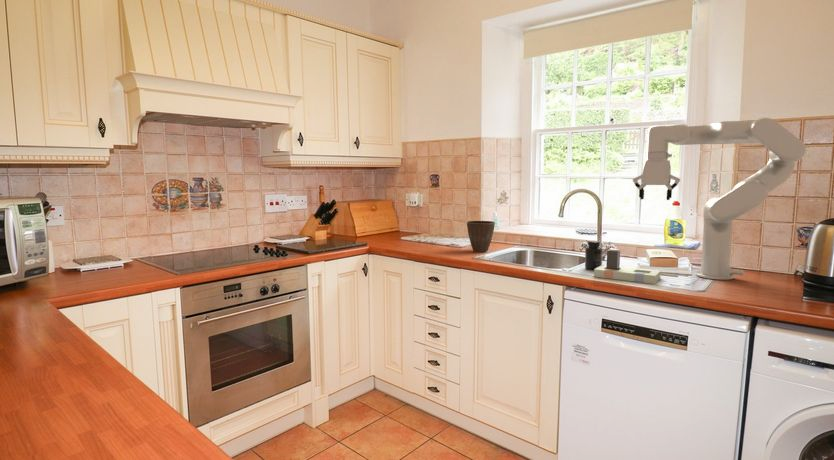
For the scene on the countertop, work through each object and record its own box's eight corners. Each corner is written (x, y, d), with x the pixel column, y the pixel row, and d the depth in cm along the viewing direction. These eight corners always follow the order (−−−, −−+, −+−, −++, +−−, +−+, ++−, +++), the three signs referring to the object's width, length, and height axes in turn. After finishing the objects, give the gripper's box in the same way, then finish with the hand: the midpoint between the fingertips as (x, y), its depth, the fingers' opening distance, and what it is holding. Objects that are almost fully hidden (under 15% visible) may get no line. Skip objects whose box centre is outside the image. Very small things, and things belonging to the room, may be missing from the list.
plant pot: (496, 253, 246) (496, 223, 244) (467, 253, 246) (467, 223, 245) (492, 249, 261) (492, 220, 259) (465, 249, 261) (465, 220, 260)
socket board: (660, 278, 185) (660, 270, 185) (654, 283, 175) (655, 275, 175) (602, 271, 198) (602, 264, 198) (593, 276, 188) (593, 268, 188)
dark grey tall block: (619, 274, 190) (620, 248, 189) (616, 276, 187) (617, 249, 186) (608, 273, 193) (609, 247, 192) (606, 275, 190) (607, 249, 188)
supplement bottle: (601, 267, 207) (602, 240, 206) (601, 270, 201) (603, 242, 199) (584, 267, 209) (585, 240, 208) (584, 269, 203) (585, 242, 202)
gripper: (682, 156, 189) (680, 199, 191) (635, 158, 199) (634, 198, 201) (680, 156, 183) (677, 200, 185) (632, 157, 193) (630, 199, 195)
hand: (654, 199), depth 193 cm, fingers open, 9 cm apart
